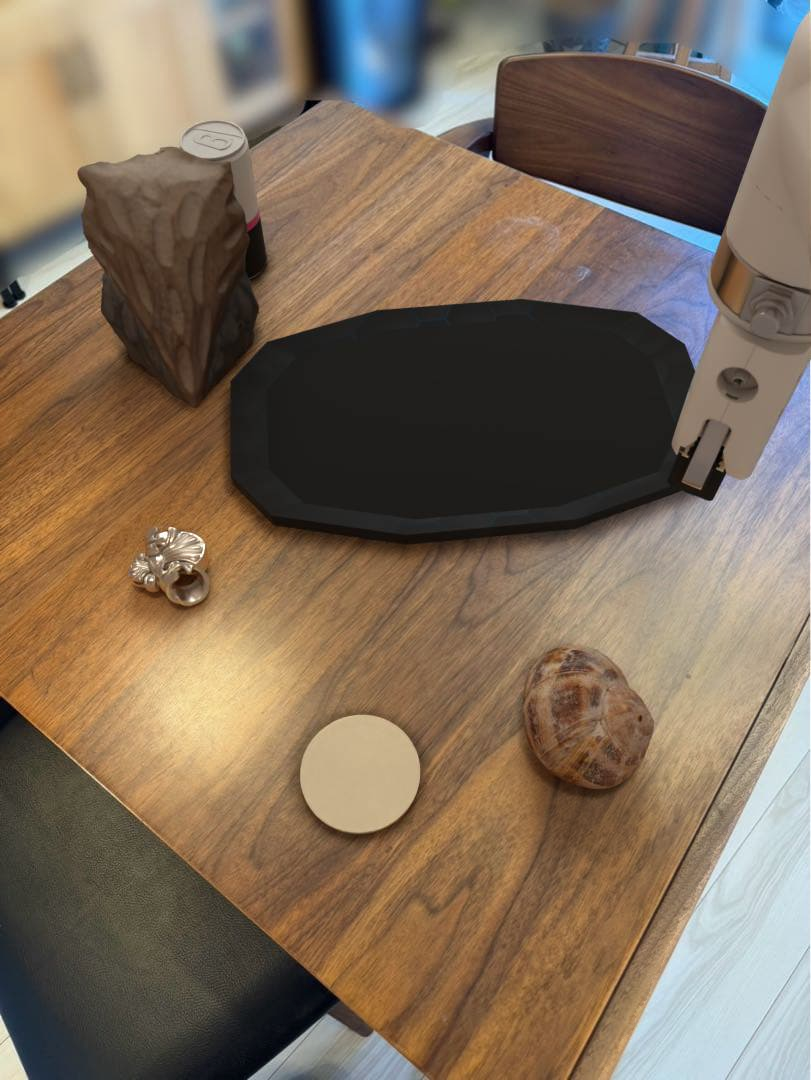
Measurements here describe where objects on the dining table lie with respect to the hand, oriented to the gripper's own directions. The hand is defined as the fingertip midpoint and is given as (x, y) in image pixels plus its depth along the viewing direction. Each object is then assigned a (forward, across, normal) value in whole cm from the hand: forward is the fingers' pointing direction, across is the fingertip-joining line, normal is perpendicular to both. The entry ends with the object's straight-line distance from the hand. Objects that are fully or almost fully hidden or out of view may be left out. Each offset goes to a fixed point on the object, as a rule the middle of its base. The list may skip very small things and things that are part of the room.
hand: (692, 484), depth 60 cm
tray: (+18, +12, +22) cm, 30 cm away
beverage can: (+18, +19, +54) cm, 60 cm away
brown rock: (+18, +5, +50) cm, 53 cm away
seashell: (+18, -12, 0) cm, 21 cm away
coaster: (+17, -23, +13) cm, 32 cm away
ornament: (+18, -16, +36) cm, 43 cm away
